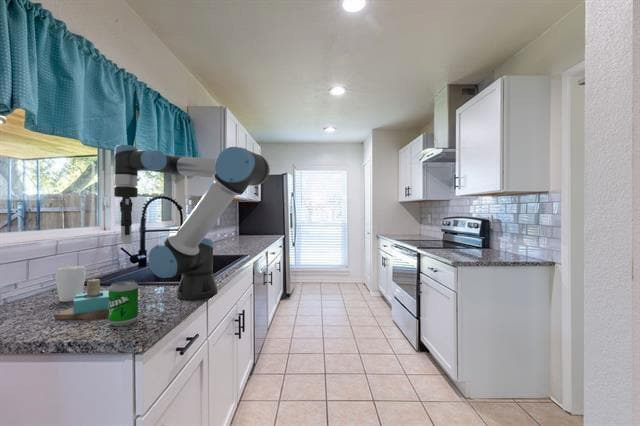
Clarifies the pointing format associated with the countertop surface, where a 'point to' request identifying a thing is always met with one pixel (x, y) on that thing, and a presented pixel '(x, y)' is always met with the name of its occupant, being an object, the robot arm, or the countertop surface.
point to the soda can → (123, 303)
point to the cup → (70, 282)
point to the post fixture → (92, 291)
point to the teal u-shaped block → (90, 302)
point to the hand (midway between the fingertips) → (125, 242)
